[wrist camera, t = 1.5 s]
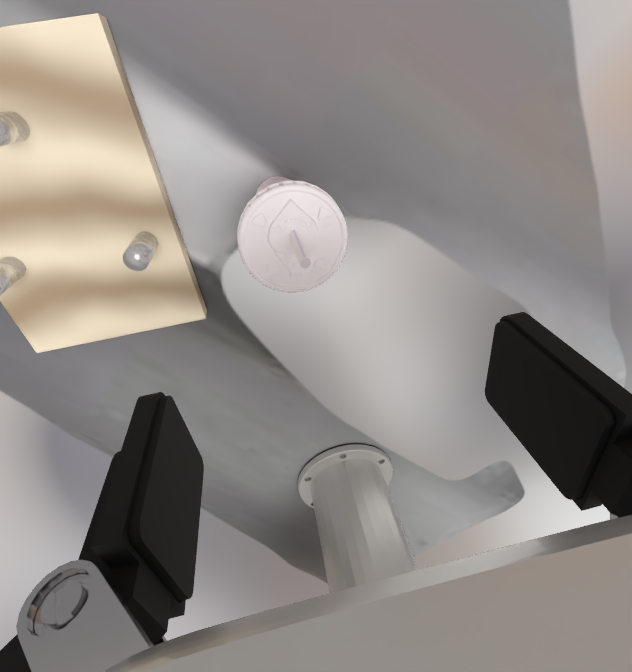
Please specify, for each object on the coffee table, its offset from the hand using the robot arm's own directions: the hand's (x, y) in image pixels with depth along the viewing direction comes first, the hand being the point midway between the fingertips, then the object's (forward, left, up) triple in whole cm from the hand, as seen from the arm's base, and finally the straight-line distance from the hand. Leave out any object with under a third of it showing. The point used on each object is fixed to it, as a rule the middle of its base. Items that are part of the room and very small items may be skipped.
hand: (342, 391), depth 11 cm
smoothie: (0, 0, -22) cm, 23 cm away
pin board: (+2, +15, -22) cm, 27 cm away
